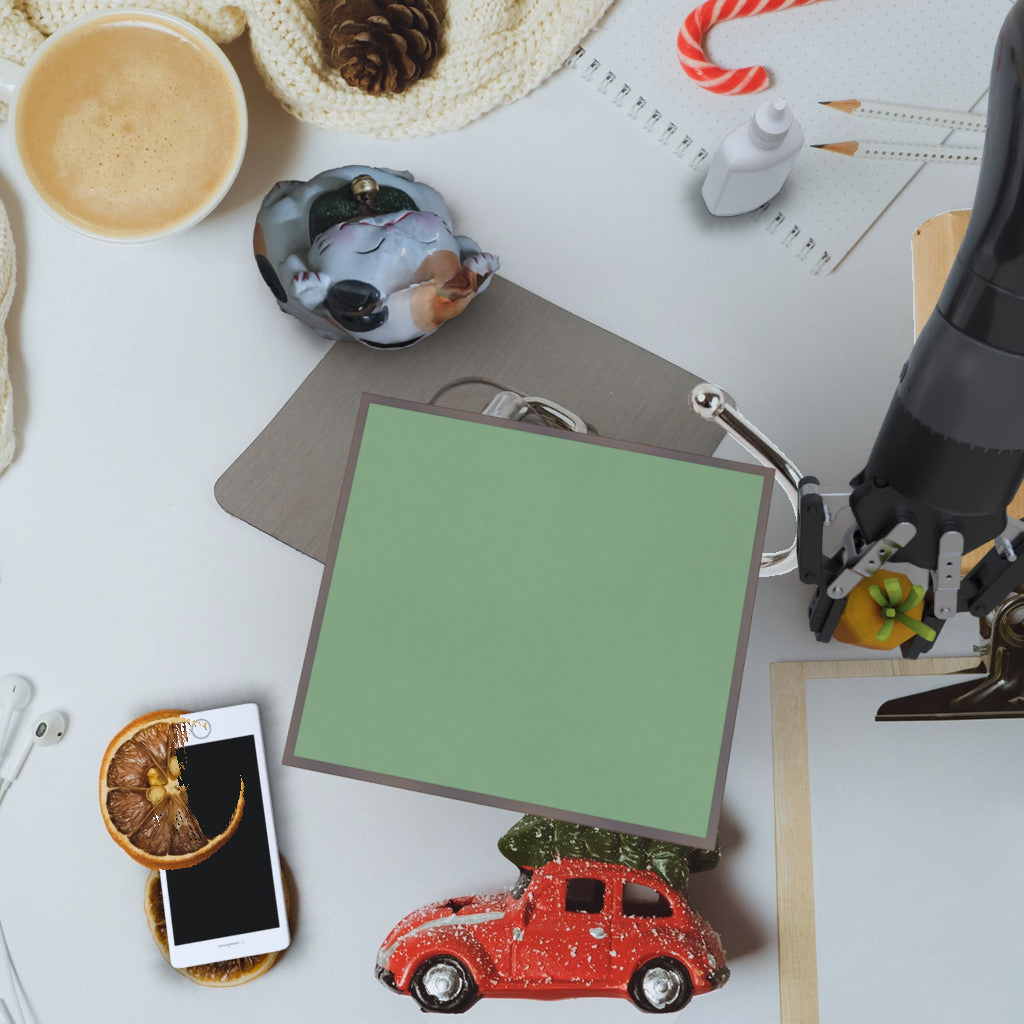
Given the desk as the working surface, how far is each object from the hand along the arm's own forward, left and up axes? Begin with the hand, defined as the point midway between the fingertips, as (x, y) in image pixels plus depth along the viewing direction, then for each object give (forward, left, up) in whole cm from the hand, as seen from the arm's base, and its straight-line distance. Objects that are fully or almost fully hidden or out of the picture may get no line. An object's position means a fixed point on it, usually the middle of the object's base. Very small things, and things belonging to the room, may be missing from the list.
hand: (864, 640), depth 63 cm
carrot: (0, -2, -8) cm, 8 cm away
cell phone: (+38, +20, -8) cm, 44 cm away
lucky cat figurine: (+35, -20, -8) cm, 41 cm away
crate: (+20, +3, -8) cm, 22 cm away
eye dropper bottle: (+11, -31, -8) cm, 34 cm away
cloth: (+20, +3, +20) cm, 29 cm away
